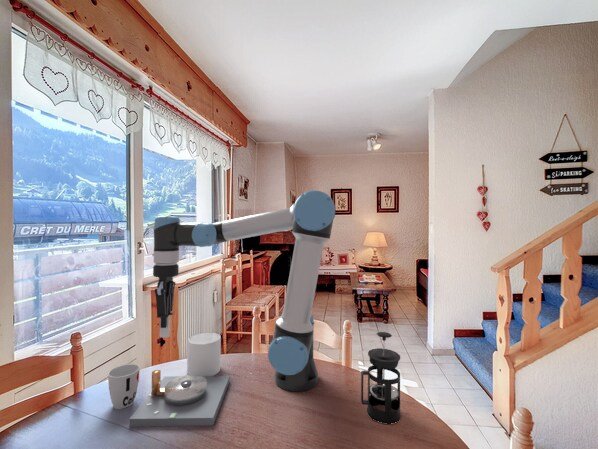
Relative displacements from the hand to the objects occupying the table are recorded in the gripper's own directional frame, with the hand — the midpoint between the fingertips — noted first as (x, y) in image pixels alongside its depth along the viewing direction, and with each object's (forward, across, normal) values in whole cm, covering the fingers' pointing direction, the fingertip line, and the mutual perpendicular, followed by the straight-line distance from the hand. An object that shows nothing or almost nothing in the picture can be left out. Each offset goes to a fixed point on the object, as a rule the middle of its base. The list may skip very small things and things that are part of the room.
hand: (164, 336), depth 94 cm
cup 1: (+18, +6, -9) cm, 21 cm away
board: (+17, +7, +9) cm, 21 cm away
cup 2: (+18, -12, +10) cm, 24 cm away
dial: (+15, +7, +7) cm, 18 cm away
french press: (+17, +19, +66) cm, 71 cm away
